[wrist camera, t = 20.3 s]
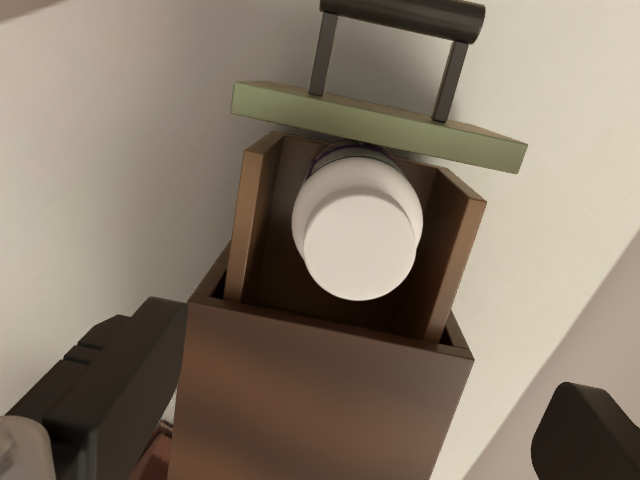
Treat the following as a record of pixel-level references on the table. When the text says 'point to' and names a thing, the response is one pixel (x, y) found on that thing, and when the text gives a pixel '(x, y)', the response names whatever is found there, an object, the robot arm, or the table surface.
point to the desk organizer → (154, 456)
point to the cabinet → (308, 395)
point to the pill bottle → (357, 221)
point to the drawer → (395, 132)
